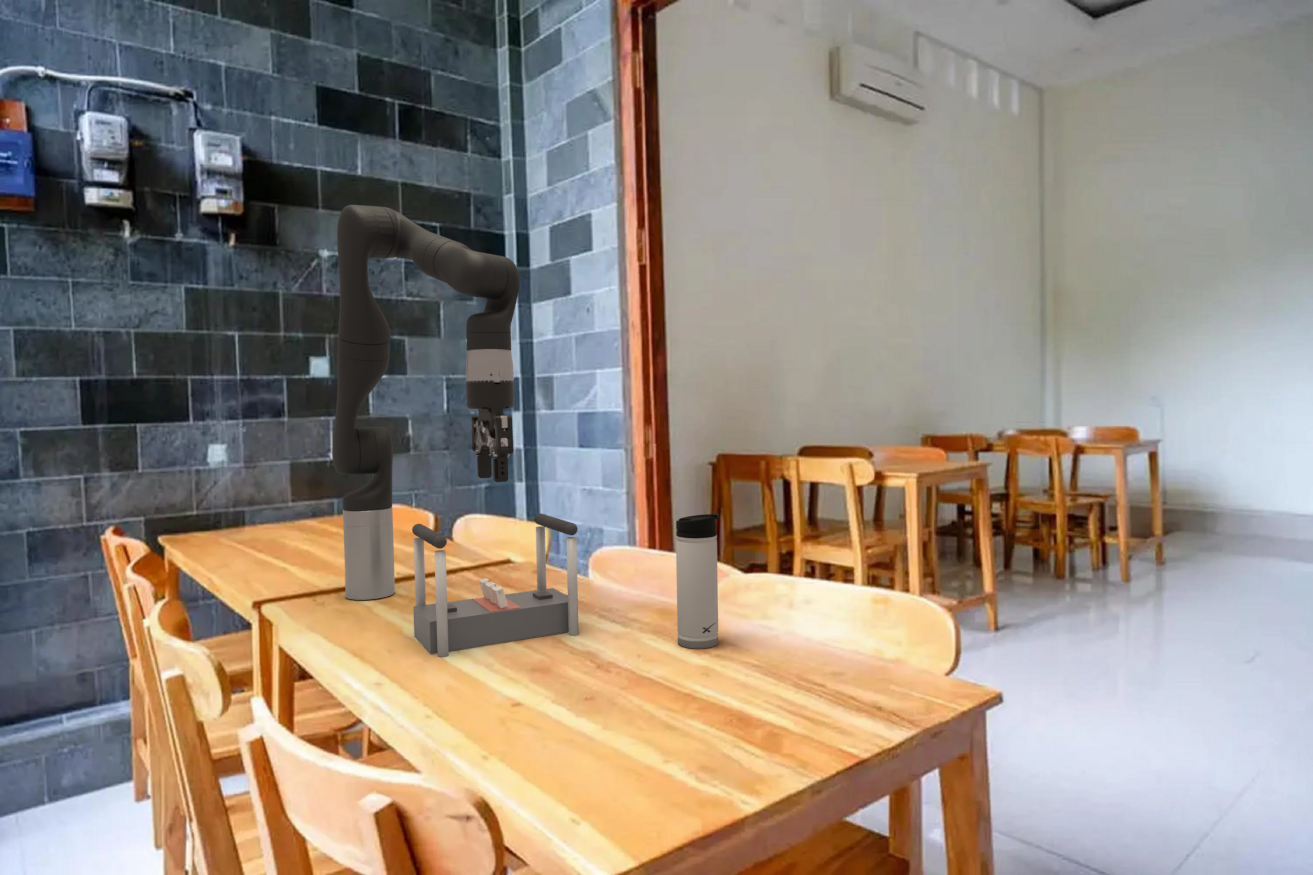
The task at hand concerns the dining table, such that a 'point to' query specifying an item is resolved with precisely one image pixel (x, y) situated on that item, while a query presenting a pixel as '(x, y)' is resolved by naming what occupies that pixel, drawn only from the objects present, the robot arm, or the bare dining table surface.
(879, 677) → the dining table surface
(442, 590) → the pdu
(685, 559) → the travel mug
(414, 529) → the dark grey rounded rod
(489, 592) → the breaker paddles
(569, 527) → the dark grey rod
